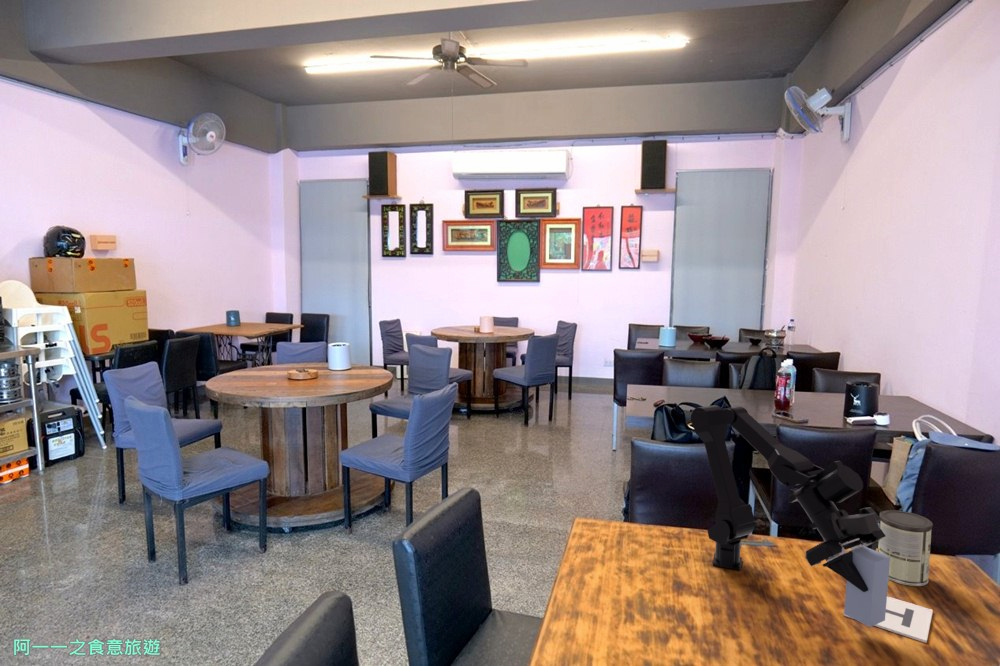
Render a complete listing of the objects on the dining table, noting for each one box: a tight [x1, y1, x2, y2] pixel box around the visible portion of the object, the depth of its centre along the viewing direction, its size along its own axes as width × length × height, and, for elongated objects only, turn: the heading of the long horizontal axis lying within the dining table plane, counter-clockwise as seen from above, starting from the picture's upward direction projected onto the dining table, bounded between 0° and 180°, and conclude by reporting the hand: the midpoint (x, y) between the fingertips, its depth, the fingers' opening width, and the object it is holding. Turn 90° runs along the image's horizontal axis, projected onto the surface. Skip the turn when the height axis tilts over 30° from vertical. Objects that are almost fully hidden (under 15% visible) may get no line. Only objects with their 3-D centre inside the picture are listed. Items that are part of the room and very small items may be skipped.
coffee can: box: [877, 509, 934, 587], centre depth 137 cm, size 10×10×14 cm
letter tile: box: [843, 595, 934, 644], centre depth 121 cm, size 14×14×1 cm
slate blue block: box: [843, 546, 890, 628], centre depth 113 cm, size 5×5×13 cm
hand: (874, 587), depth 112 cm, fingers closed on slate blue block, 5 cm apart
